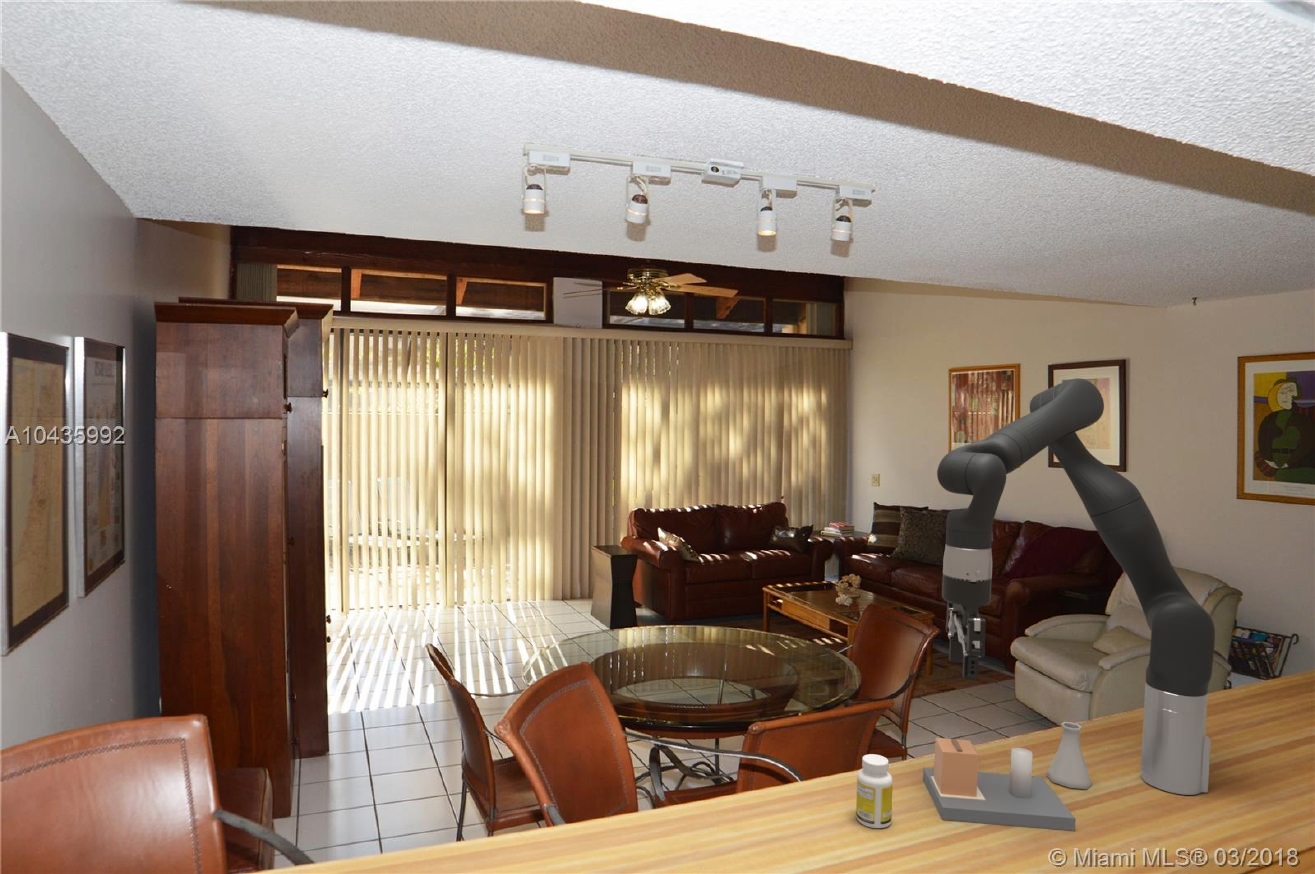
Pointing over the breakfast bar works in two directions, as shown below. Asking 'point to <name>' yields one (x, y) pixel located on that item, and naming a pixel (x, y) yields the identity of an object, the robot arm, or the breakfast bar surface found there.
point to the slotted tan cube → (956, 767)
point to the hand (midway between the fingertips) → (962, 670)
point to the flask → (1069, 760)
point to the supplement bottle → (874, 792)
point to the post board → (1005, 798)
